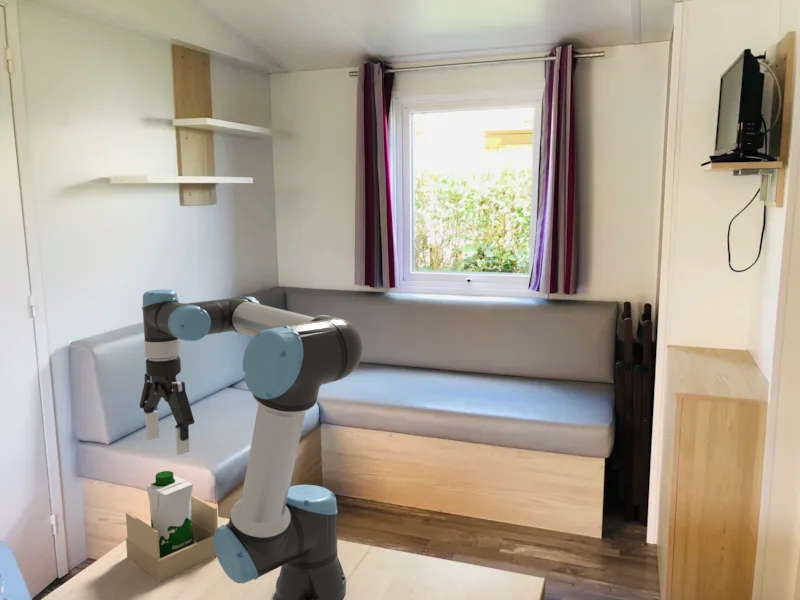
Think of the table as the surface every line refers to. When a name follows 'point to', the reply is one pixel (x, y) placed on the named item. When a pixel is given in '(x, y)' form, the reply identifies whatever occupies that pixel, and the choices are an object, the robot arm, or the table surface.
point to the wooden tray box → (147, 555)
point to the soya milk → (171, 512)
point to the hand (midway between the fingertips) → (167, 445)
